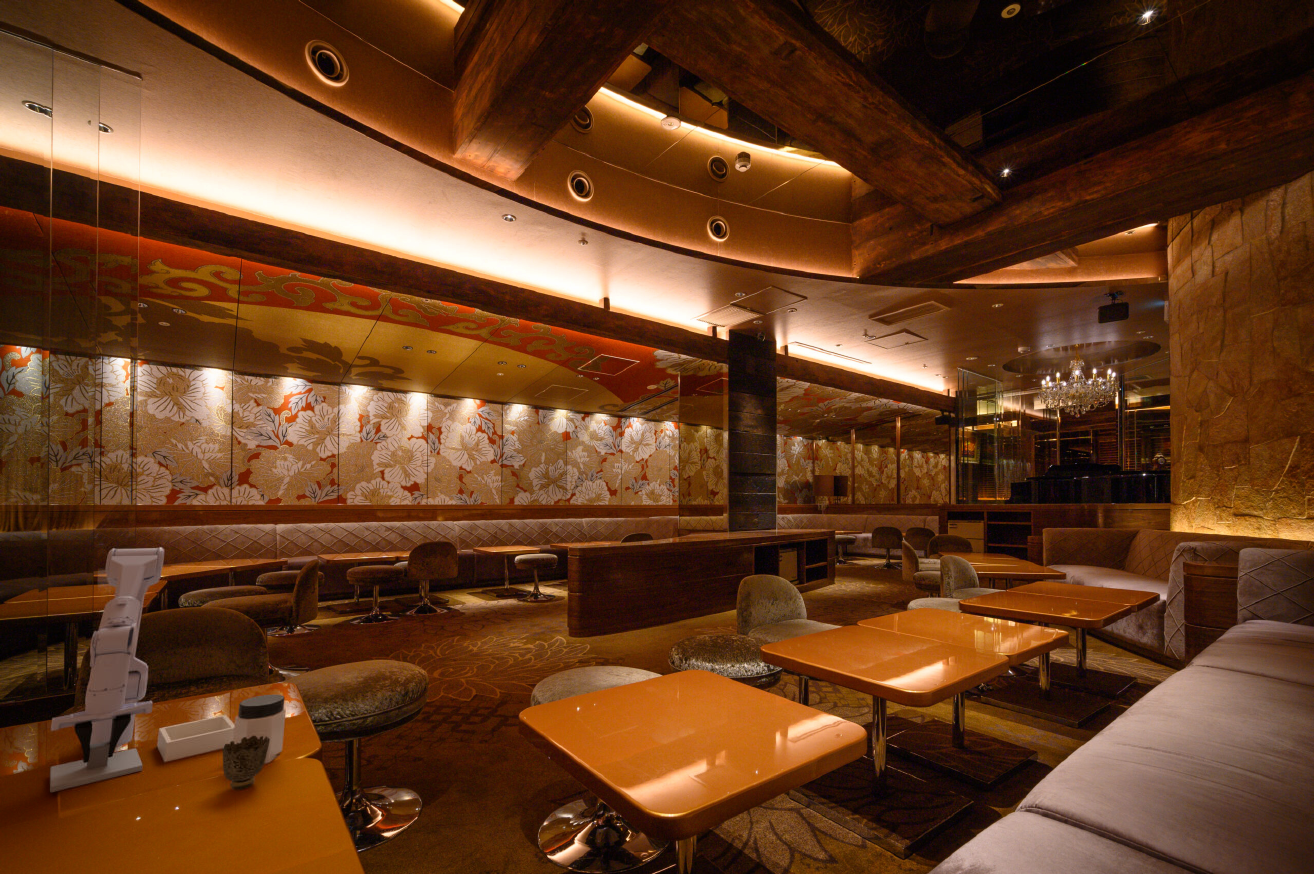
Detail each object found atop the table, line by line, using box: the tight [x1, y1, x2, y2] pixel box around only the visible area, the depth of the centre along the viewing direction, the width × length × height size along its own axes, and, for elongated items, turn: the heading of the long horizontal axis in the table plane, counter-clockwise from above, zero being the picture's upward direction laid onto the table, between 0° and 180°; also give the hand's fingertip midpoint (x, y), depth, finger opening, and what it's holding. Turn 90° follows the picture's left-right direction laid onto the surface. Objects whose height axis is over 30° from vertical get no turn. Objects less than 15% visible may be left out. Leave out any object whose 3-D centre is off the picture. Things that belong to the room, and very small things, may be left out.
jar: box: [233, 694, 287, 765], centre depth 121 cm, size 9×8×12 cm
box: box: [156, 714, 235, 763], centre depth 125 cm, size 12×12×4 cm
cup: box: [221, 735, 270, 791], centre depth 108 cm, size 8×7×8 cm
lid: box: [49, 741, 143, 793], centre depth 113 cm, size 13×13×5 cm
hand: (97, 758), depth 112 cm, fingers closed on lid, 3 cm apart
